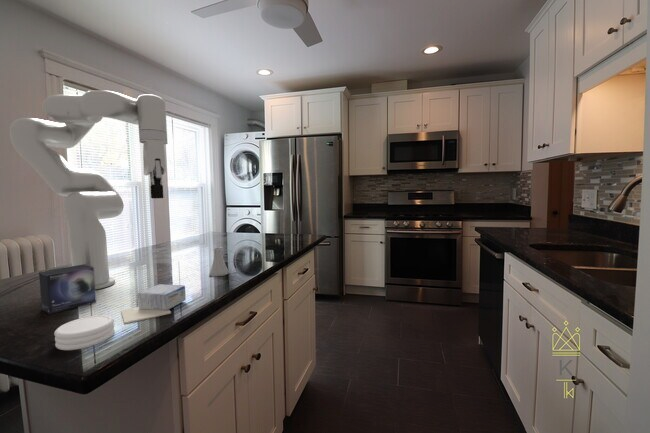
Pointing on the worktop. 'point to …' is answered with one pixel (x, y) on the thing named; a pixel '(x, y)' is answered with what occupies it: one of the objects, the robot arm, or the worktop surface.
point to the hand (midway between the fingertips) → (157, 198)
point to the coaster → (84, 332)
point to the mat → (141, 314)
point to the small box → (67, 288)
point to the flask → (218, 264)
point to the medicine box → (161, 297)
